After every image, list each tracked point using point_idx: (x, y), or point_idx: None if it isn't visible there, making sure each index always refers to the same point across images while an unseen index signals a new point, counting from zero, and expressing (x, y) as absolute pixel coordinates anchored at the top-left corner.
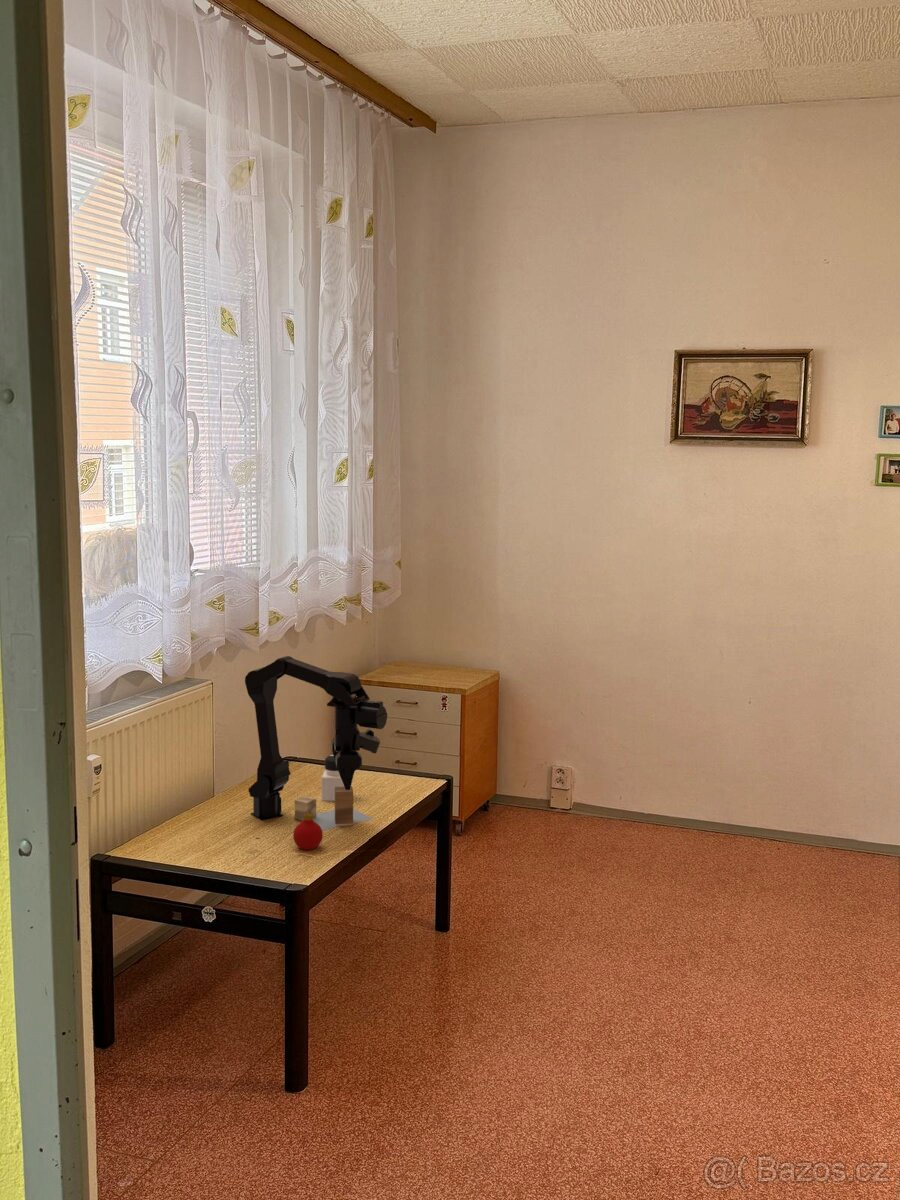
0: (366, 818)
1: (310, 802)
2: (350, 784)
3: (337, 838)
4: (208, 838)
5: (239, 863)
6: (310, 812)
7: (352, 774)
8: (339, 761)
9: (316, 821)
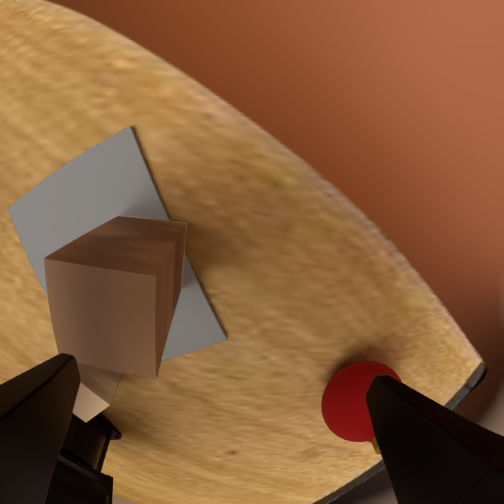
0: (122, 154)
1: (93, 388)
2: (419, 398)
3: (298, 297)
4: (215, 492)
5: (354, 459)
6: None
7: (496, 443)
8: None
9: None
